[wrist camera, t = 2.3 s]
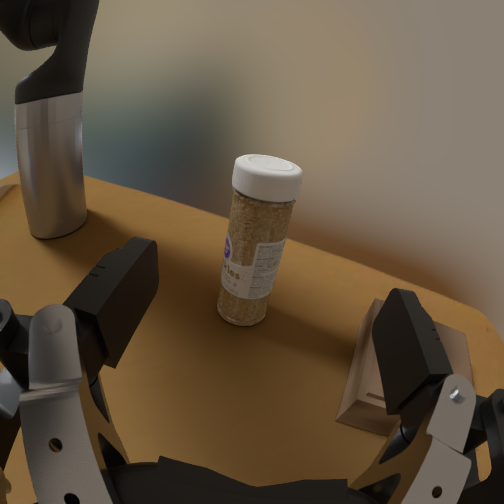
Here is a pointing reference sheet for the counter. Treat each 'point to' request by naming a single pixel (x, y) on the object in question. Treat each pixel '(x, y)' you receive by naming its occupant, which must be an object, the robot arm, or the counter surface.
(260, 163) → the sprinkles bottle
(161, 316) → the counter surface
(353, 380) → the walnut plinth
